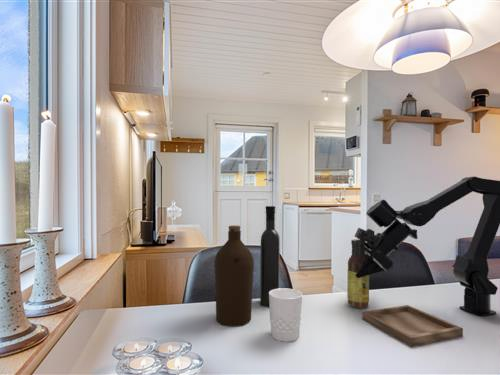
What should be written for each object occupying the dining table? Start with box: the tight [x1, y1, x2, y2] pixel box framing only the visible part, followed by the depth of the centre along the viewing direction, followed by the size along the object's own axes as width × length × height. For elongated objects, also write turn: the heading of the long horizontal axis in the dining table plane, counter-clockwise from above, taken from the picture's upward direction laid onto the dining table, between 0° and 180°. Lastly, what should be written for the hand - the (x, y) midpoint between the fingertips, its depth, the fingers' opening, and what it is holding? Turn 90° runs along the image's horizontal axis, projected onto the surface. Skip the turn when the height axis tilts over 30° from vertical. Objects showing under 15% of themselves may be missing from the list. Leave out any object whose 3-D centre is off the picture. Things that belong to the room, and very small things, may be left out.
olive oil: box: [213, 225, 255, 327], centre depth 82 cm, size 11×11×25 cm
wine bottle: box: [259, 205, 281, 307], centre depth 94 cm, size 6×6×30 cm
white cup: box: [268, 287, 303, 343], centre depth 72 cm, size 8×8×10 cm
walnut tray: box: [361, 304, 464, 348], centre depth 77 cm, size 16×16×2 cm
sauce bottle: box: [346, 238, 370, 309], centre depth 93 cm, size 6×6×20 cm
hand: (353, 273), depth 93 cm, fingers open, 8 cm apart
